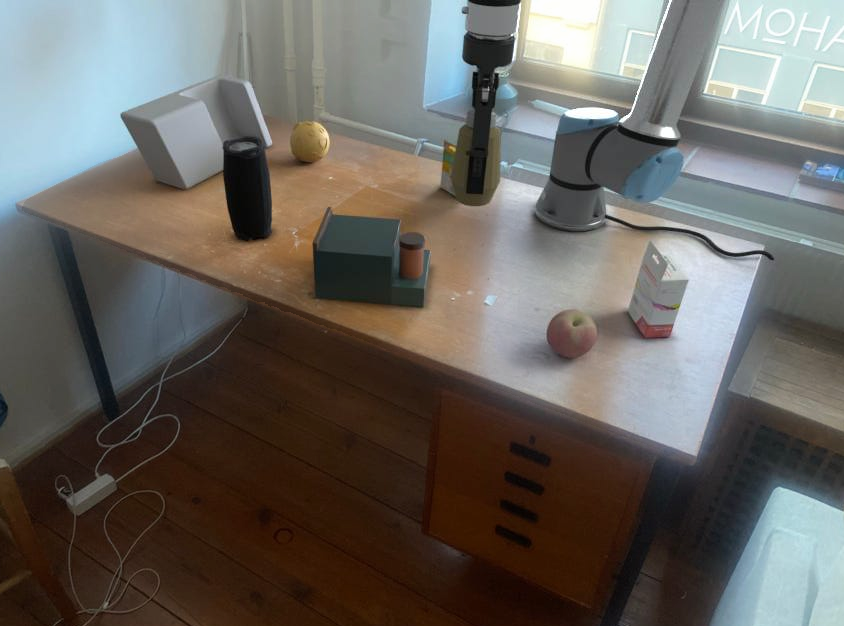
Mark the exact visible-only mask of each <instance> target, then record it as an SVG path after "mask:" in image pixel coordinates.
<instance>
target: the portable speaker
mask: <svg viewBox="0 0 844 626" xmlns="http://www.w3.org/2000/svg"><path fill="white" fill-rule="evenodd" d="M222 148H223V149H224V150H223V151H224V154H223V171H222V177H223V186H224V194H225V201H226V209H227V213H228V216H229V219H230V223H231V224H230V225H231V228H232V231H233V233H234V236H235V237H236V239H237V240H239V241H243V242H246V243H248V242H249V241H251V240H252V239H255V238H261V237H262V238H264V239H269V237H270V236H271V235H272V223H273V200H272V199H273V198H272V186H271V173H270V168H269V164H268V160H267V155H266V150H265V149H266V148H264V146H263V143H262V141H261V139H259V138H257V137H252V136H245V137H243V138H239V139H234V140H227V141H224V143H223V146H222Z"/></svg>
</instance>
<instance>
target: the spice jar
mask: <svg viewBox="0 0 844 626" xmlns="http://www.w3.org/2000/svg"><path fill="white" fill-rule="evenodd" d="M399 245H400V249H399V274H400V276H402V277H403V278H406V279H416V278H419V277H421V276H422V274H423V258H424V250H425V245H426V237H425V235H423V234H422V233H420V232H417V231H407V232H403V233H402V234H400V237H399Z"/></svg>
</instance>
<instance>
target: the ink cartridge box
mask: <svg viewBox="0 0 844 626" xmlns="http://www.w3.org/2000/svg"><path fill="white" fill-rule="evenodd" d="M689 281H690V280H689V277H688V276H687V275H686V274H685V272H684V271H683V270H682V269H681V267H680V266H679V265H678V264H677V262H676V261H675V259H674V258H673V257H672V256H671V255H670V254H662V253H661V252H660V250H659V249H658V248H657V246H656V245H655V244H654V243H653V241H652V240H649V242H648V244H647V247H646V249H645V251H644V254H643V256H642V260H641V263H640V267H639V270H638V273H637V277H636V280H635V284H634V288H633V292H632V295H631V298H630V302H629V306H628V309H627V312H628V314H629V315H630V317H631V319H632V320H633V322H634V324H635V325H636V326H637V328H638V330H639V331H640V333H641V335H642V336H643V338H645V339H646V338H647V339H649V338H670V337H671V335H672V332H673V329H674V326H675V323H676V319H677V316H678V314H679V311H680V308H681V304H682V302H683V298H684V296H685V293H686V290H687V287H688V285H689Z"/></svg>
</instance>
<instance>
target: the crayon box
mask: <svg viewBox="0 0 844 626" xmlns="http://www.w3.org/2000/svg"><path fill="white" fill-rule="evenodd" d="M442 149H443V152H442V162H441V163H442V164H441V175H440V189H443V190H444V191H446V192H448V193H449V194H451V195H453V196H454V197H455V193H454V189H453V185H452V181H451V172H452V167H453V161H454V156H455V151H456V145H455V144H453V143H451V142H449V141H447V140H445V139H444V140H443V148H442Z"/></svg>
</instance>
